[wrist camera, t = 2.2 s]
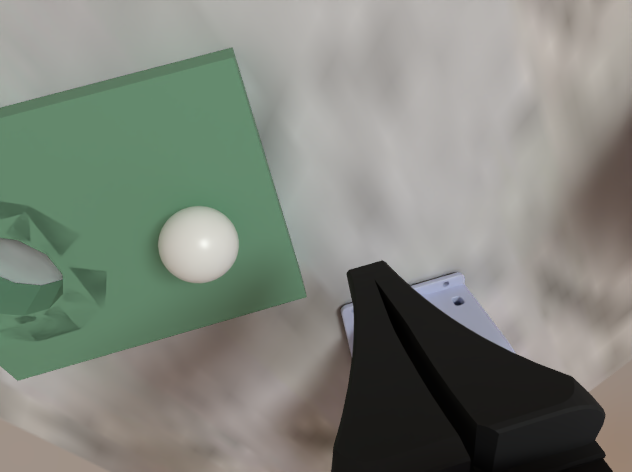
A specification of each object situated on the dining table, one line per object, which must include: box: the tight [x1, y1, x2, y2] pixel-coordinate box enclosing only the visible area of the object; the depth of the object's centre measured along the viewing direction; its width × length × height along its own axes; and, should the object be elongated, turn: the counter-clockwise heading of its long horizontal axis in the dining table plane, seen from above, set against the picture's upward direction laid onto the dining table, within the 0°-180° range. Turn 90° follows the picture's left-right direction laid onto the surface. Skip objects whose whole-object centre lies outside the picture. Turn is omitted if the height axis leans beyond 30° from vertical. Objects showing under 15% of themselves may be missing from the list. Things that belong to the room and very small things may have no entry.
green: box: [0, 48, 307, 380], centre depth 19 cm, size 18×14×5 cm
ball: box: [158, 206, 239, 283], centre depth 18 cm, size 4×4×4 cm
